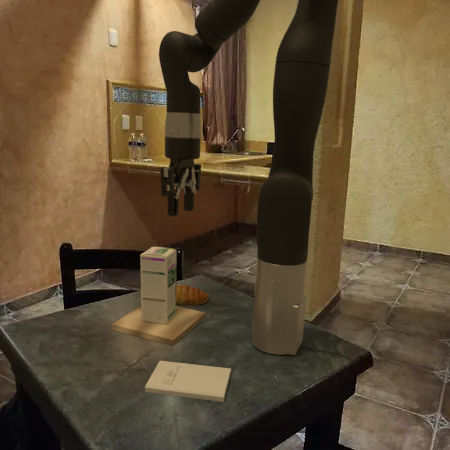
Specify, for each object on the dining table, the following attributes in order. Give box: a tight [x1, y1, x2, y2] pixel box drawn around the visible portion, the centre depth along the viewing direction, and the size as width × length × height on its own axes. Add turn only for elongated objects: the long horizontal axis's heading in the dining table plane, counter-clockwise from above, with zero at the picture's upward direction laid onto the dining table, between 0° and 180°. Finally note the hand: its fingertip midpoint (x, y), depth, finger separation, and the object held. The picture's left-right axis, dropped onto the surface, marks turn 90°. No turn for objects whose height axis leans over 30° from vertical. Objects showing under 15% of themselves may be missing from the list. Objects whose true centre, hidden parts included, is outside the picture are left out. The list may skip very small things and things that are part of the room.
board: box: [111, 305, 207, 346], centre depth 91 cm, size 14×14×1 cm
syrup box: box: [139, 246, 178, 324], centre depth 89 cm, size 6×6×14 cm
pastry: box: [176, 284, 209, 306], centre depth 103 cm, size 9×7×4 cm
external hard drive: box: [144, 360, 232, 403], centre depth 71 cm, size 2×8×12 cm
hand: (181, 212), depth 95 cm, fingers open, 6 cm apart
